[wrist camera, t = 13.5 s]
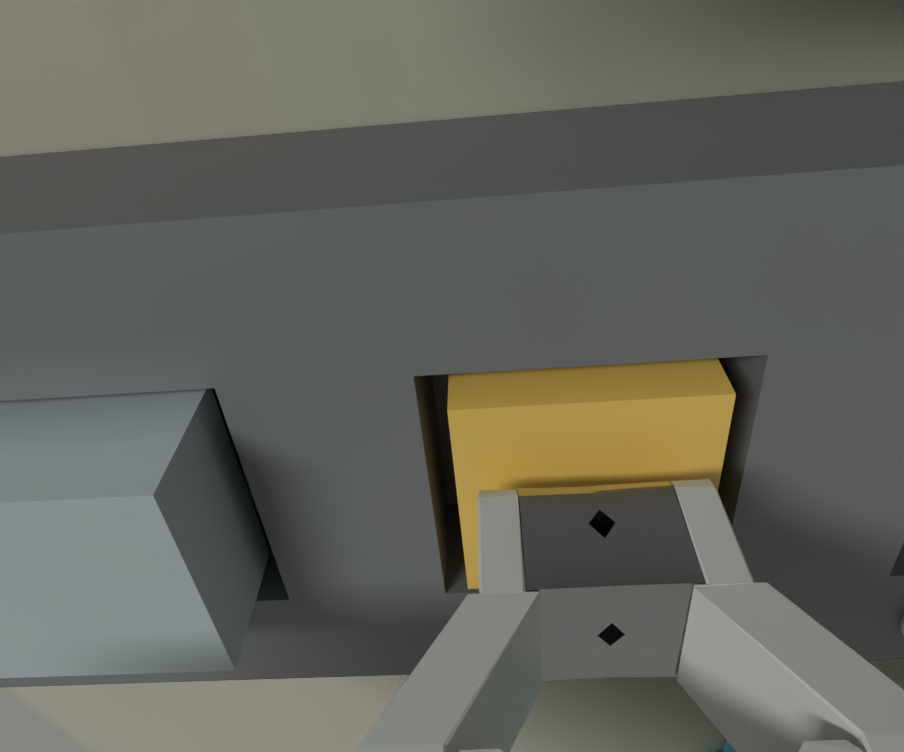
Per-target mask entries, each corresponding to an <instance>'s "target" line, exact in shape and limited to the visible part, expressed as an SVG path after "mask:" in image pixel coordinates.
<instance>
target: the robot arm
mask: <svg viewBox="0 0 904 752" xmlns="http://www.w3.org/2000/svg"><path fill="white" fill-rule="evenodd" d="M478 547H479V594H468V595H467V596H466V597H465V599H464V600H463V602H462V603H461V604H460V606H459V607H458V609H457V610H456V611H455V613H454V614H453V616H452V617H451V618H450V620H449V621H448V623H447V624H446V625H445V627H444V628H443V630H442V631H441V632H440V634H439V635H438V637H437V638H436V639H435V641H434V642H433V644H432V645H431V646H430V648H429V649H428V650H427V652H426V653H425V655H424V656H423V657H422V659H421V660H420V662H419V663H418V664H417V666H416V667H415V669H414V670H413V671H412V673H411V674H410V676H409V677H408V678H407V680H406V681H405V683H404V684H403V685H402V687H401V688H400V690H399V691H398V692H397V694H396V695H395V697H394V698H393V699H392V701H391V702H390V704H389V705H388V706H387V708H386V709H385V711H384V712H383V713H382V715H381V716H380V718H379V719H378V720H377V722H376V723H375V725H374V726H373V727H372V729H371V730H370V732H369V733H368V734H367V736H366V737H365V738H364V740H363V741H362V743H361V744H360V745H359V747H358V748H357V752H510V750H511V747H512V745H513V743H514V741H515V739H516V737H517V735H518V733H519V731H520V729H521V727H522V725H523V723H524V721H525V719H526V717H527V715H528V713H529V711H530V709H531V706H532V704H533V702H534V700H535V698H536V696H537V694H538V692H539V690H540V688H541V686H542V682H541V681H555V680H572V679H588V678H605V677H677V680H676V681H677V682H678V683H679V684H680V685H681V686H682V688H683V689H684V690H685V691H686V692H687V694H688V695H689V696H690V697H691V698H692V700H693V701H694V702H695V703H696V704H697V705H698V707H699V708H700V709H701V710H702V711H703V713H704V714H705V715H706V716H707V717H708V718H709V720H710V721H711V722H712V723H713V724H714V726H715V727H716V728H717V729H718V730H719V732H720V733H721V734H722V735H723V736H724V737H725V739H726V740H727V741H728V742H729V743H730V745H731V746H732V747H733V748H734V749H735V751H736V752H904V690H903V689H902V688H901V687H900V686H898V685H897V684H896V683H895V682H893V681H892V680H891V679H890V678H888V677H887V676H886V675H884V674H883V673H882V672H881V671H879V670H878V669H877V668H876V667H874V666H873V665H872V664H870V663H869V662H868V661H867V660H865V659H864V658H863V657H862V656H860V655H859V654H858V653H857V652H855V651H854V650H853V649H851V648H850V647H849V646H848V645H846V644H845V643H844V642H843V641H841V640H840V639H839V638H837V637H836V636H835V635H834V634H832V633H831V632H830V631H829V630H827V629H826V628H825V627H824V626H822V625H821V624H820V623H818V622H817V621H816V620H815V619H813V618H812V617H811V616H810V615H808V614H807V613H806V612H804V611H803V610H802V609H801V608H799V607H798V606H797V605H796V604H794V603H793V602H792V601H791V600H789V599H788V598H787V597H785V596H784V595H783V594H782V593H780V592H779V591H778V590H777V589H775V588H774V587H773V586H771V585H770V584H769V583H768V582H754V579H753V577H752V574H751V572H750V570H749V567H748V565H747V562H746V560H745V557H744V555H743V552H742V550H741V547H740V545H739V542H738V540H737V538H736V535H735V533H734V530H733V528H732V525H731V523H730V520H729V518H728V515H727V513H726V511H725V508H724V506H723V503H722V501H721V498H720V496H719V493H718V491H717V488H716V486H715V484H714V483H713V482H712V481H711V480H710V479H699V480H682V481H670V482H669V483H668V482H667V481H665V482H648V483H632V484H615V485H598V486H592V487H554V488H518V493H517V489H507V490H479V495H478Z"/></svg>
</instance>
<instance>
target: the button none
mask: <svg viewBox="0 0 904 752" xmlns="http://www.w3.org/2000/svg"><path fill="white" fill-rule="evenodd" d="M269 553H270V550H269V548H268V545H267V542H266V539H265V536H264V534H263V531H262V528H261V525H260V522H259V520H258V517H257V514H256V511H255V509H254V506H253V503H252V500H251V497H250V495H249V492H248V489H247V486H246V483H245V481H244V478H243V475H242V472H241V469H240V467H239V464H238V461H237V458H236V455H235V453H234V450H233V447H232V444H231V441H230V439H229V436H228V433H227V430H226V427H225V425H224V422H223V419H222V416H221V413H220V411H219V408H218V405H217V402H216V399H215V397H214V394H213V391H212V388H210V389H193V390H176V391H159V392H143V393H126V394H109V395H93V396H76V397H59V398H43V399H26V400H9V401H0V678H25V677H55V676H86V675H117V674H147V673H178V672H208V671H236V667H237V664H238V660H239V657H240V653H241V650H242V646H243V643H244V640H245V636H246V633H247V629H248V626H249V622H250V619H251V615H252V612H253V609H254V605H255V602H256V598H257V595H258V591H259V588H260V584H261V581H262V578H263V574H264V571H265V567H266V564H267V560H268V557H269Z"/></svg>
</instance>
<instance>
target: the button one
mask: <svg viewBox="0 0 904 752" xmlns="http://www.w3.org/2000/svg"><path fill="white" fill-rule="evenodd" d="M735 397H736V393H735V391H734V389H733V387H732V385H731V383H730V381H729V379H728V377H727V375H726V373H725V371H724V369H723V368H722V366H721V364H720V362H719V360H718V358H710V359H694V360H677V361H660V362H644V363H627V364H610V365H594V366H577V367H560V368H543V369H527V370H510V371H493V372H477V373H460V374H449V377H448V403H447V413H448V421H449V430H450V439H451V447H452V456H453V464H454V473H455V482H456V490H457V499H458V507H459V516H460V525H461V533H462V542H463V550H464V559H465V568H466V576H467V585H468V589H479V547H478V495H479V490H507V489H517V493H518V488H554V487H592V486H598V485H615V484H632V483H648V482H665V481H667V482H668V483H669V482H670V481H682V480H699V479H710V480H711V481H712V482H713V483H714V484H715V486H716V488H717V491H718V488H719V483H720V477H721V472H722V467H723V461H724V456H725V451H726V445H727V440H728V435H729V429H730V424H731V419H732V413H733V408H734V402H735Z"/></svg>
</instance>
